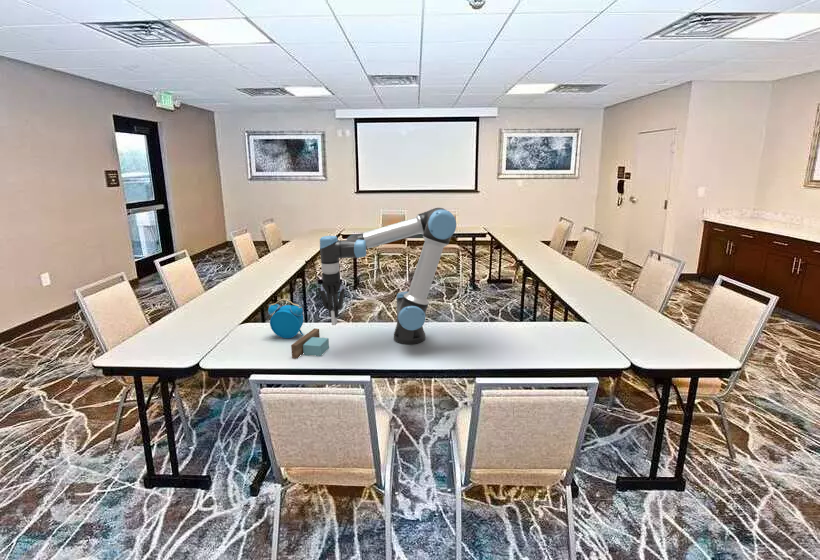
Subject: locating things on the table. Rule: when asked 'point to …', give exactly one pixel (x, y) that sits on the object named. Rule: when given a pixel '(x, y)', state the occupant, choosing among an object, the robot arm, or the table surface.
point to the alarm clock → (286, 319)
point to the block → (316, 346)
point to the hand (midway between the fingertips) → (334, 324)
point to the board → (298, 345)
